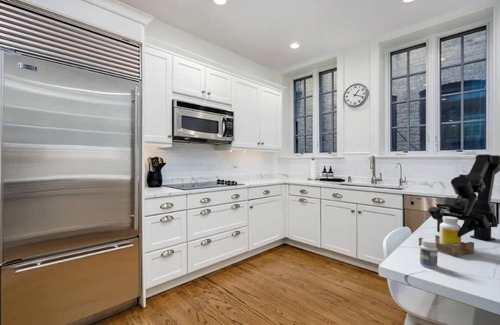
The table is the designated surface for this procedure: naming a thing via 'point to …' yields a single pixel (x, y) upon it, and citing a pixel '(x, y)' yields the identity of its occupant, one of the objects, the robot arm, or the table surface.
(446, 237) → the supplement bottle
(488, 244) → the table surface
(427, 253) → the pill bottle
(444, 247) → the bay
